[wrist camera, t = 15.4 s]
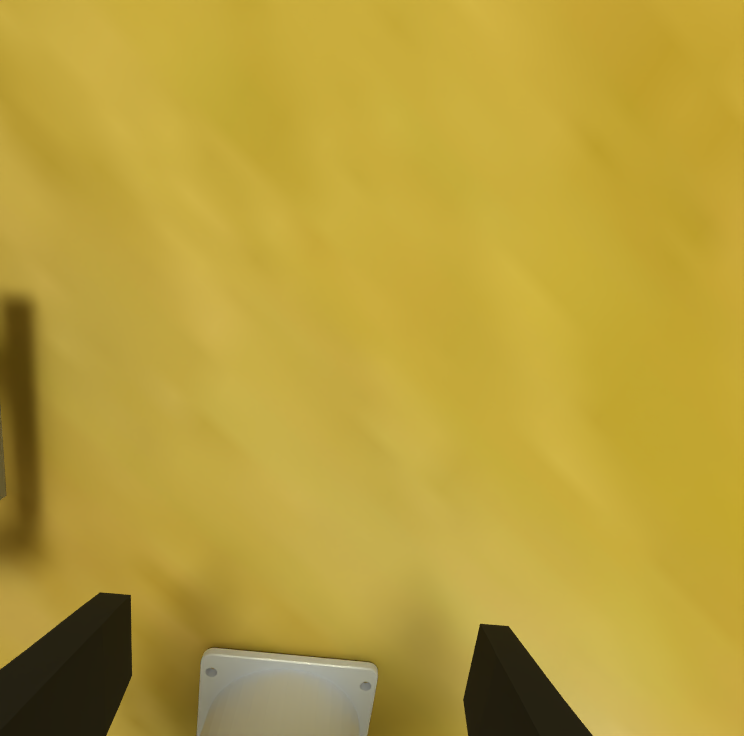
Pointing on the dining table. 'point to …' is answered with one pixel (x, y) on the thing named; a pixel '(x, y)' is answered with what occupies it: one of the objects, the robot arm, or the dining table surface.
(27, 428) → the dining table surface
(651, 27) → the dining table surface
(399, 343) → the dining table surface
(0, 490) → the grey open rectangular frame
